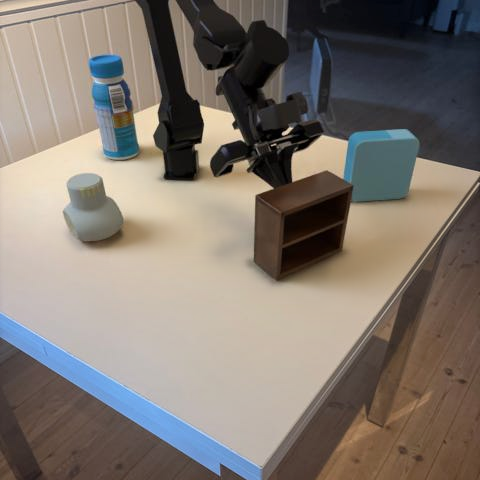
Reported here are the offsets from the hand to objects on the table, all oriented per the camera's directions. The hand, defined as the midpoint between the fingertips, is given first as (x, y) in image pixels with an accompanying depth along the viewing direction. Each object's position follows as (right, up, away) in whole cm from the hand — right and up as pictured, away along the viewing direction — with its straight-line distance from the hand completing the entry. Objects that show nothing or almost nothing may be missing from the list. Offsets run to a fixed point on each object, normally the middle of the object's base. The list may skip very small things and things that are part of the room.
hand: (290, 198), depth 76 cm
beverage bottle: (-35, +19, +37) cm, 55 cm away
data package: (+19, +5, +20) cm, 28 cm away
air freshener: (-33, -3, +11) cm, 35 cm away
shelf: (+2, -9, +5) cm, 10 cm away
